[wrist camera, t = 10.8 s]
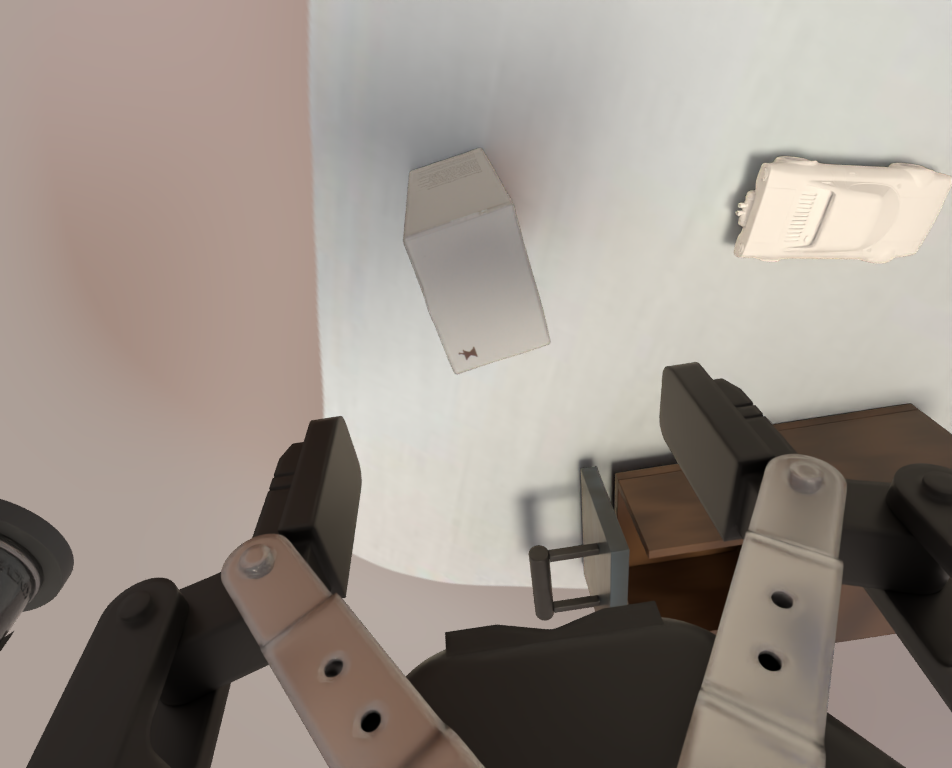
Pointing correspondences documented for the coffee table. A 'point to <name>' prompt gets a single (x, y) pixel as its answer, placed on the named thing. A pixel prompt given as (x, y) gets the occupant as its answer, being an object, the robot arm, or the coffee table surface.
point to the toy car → (839, 211)
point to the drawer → (644, 550)
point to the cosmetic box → (472, 262)
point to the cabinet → (869, 476)
